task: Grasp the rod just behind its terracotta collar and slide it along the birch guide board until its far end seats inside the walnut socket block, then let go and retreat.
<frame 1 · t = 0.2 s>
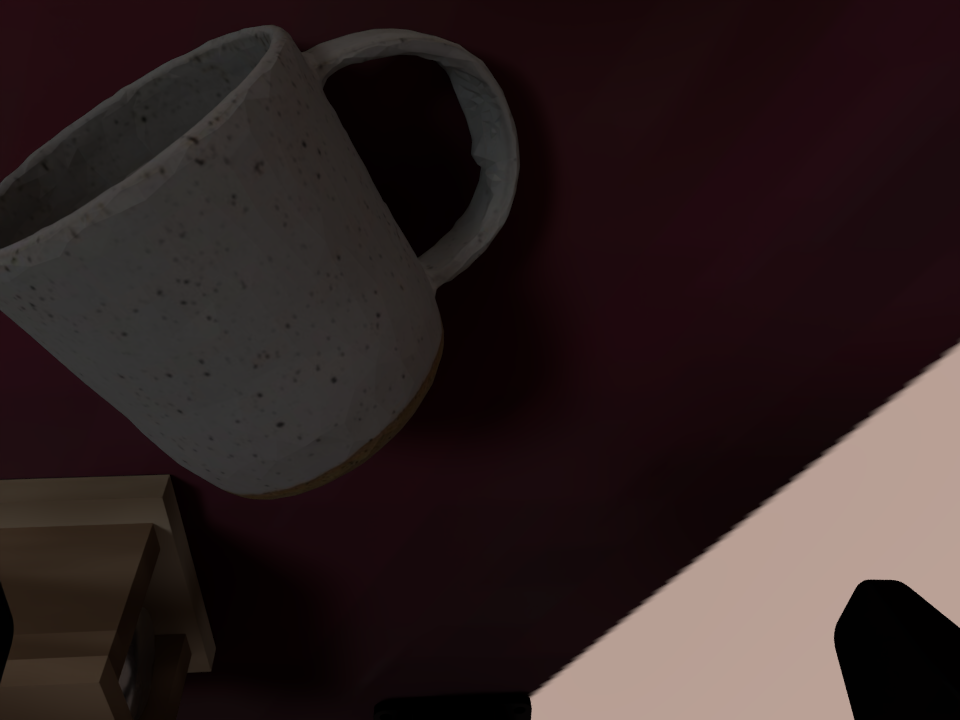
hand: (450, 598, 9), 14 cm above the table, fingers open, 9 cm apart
ceramic mug: (299, 170, 21), on the table
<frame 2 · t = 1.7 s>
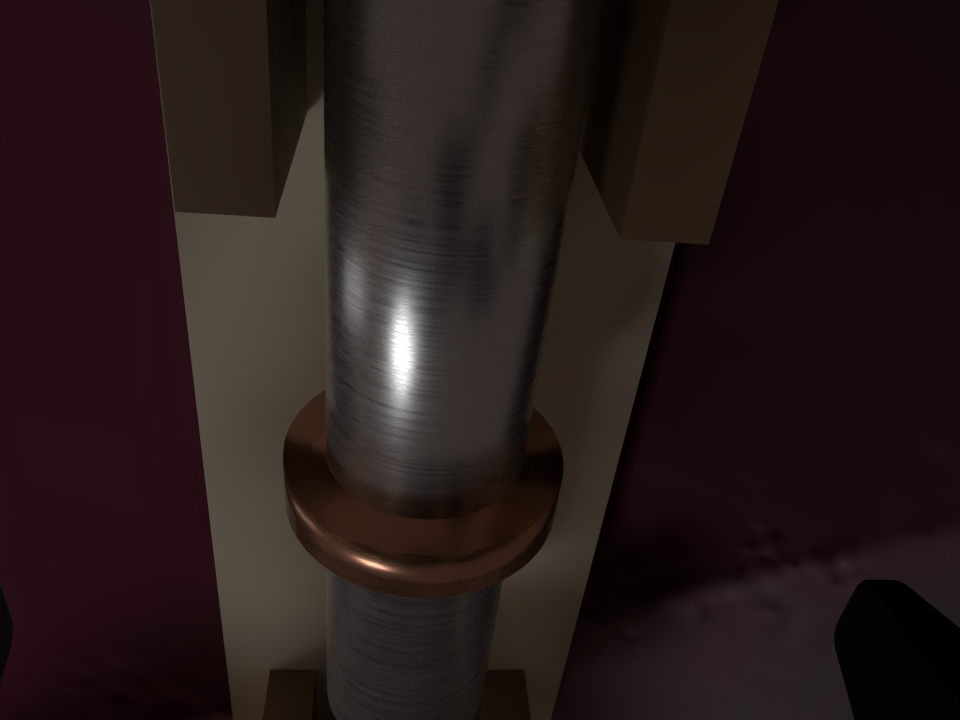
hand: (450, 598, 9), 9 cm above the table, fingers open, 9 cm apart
rod: (437, 309, 13), point 4 cm above the table, slide at 0.0 cm
guide: (422, 338, 17), on the table
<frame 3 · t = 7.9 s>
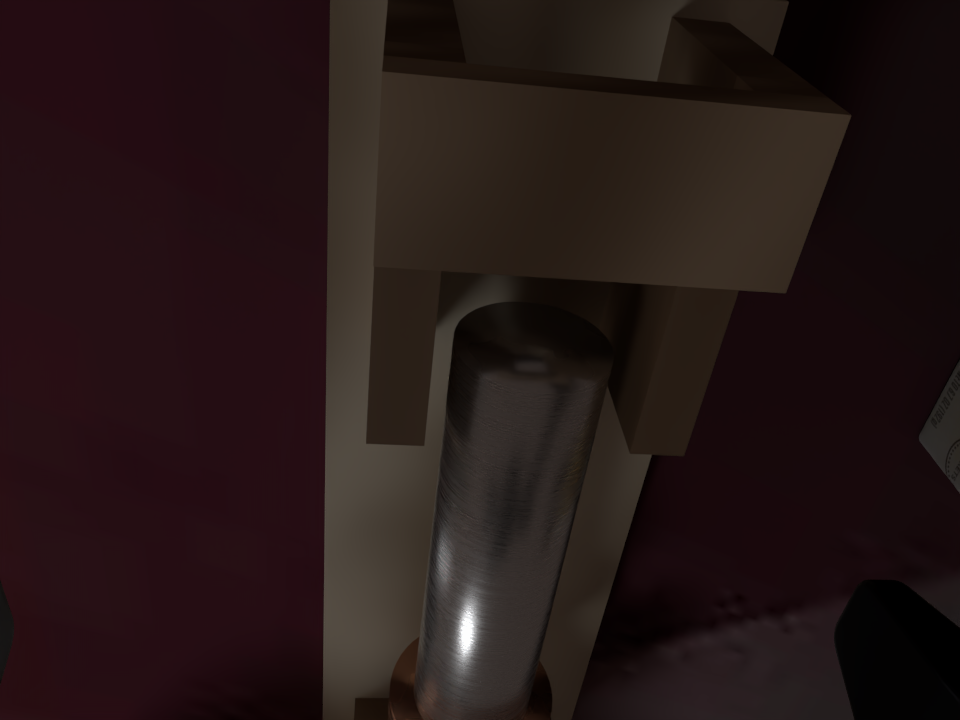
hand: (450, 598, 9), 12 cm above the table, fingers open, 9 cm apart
rod: (482, 629, 23), point 4 cm above the table, slide at 5.7 cm
guide: (483, 466, 24), on the table
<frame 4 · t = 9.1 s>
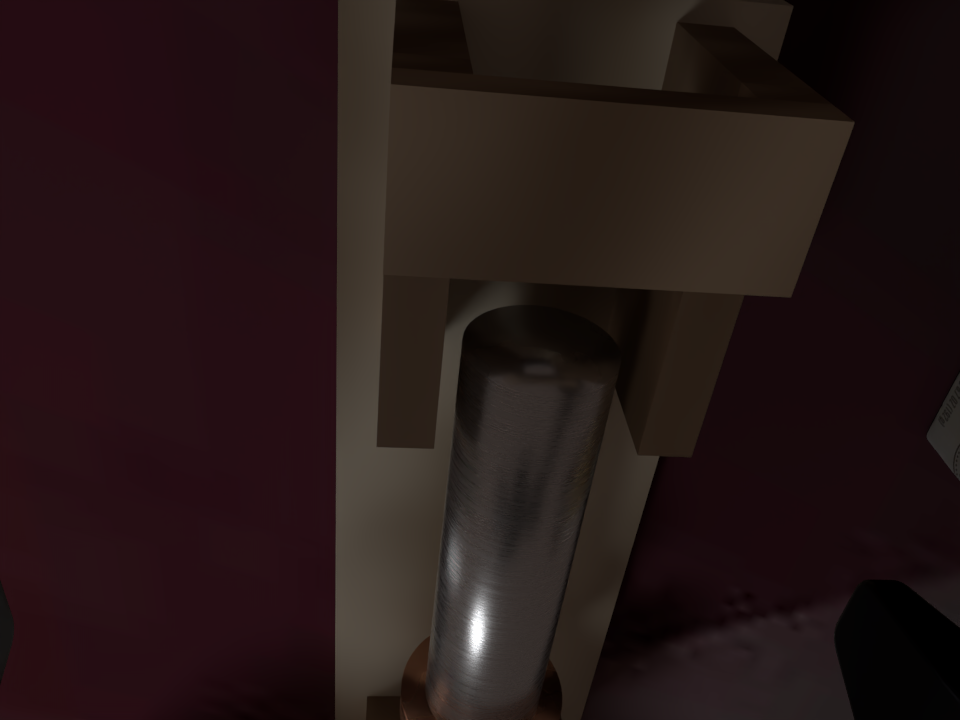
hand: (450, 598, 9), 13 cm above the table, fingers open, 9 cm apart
rod: (492, 628, 23), point 4 cm above the table, slide at 5.7 cm
guide: (492, 467, 25), on the table
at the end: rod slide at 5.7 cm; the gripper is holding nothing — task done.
